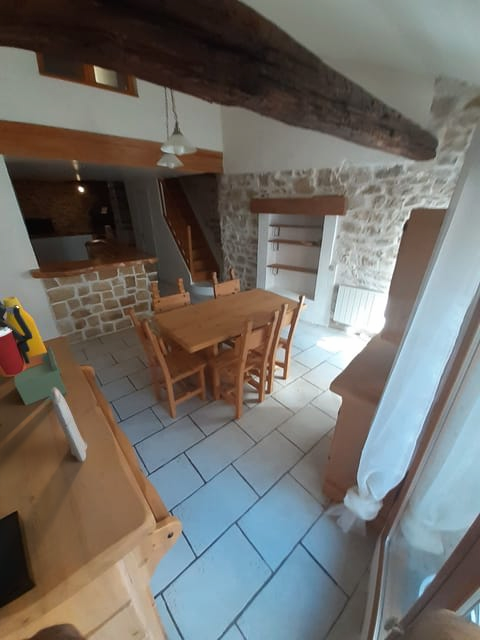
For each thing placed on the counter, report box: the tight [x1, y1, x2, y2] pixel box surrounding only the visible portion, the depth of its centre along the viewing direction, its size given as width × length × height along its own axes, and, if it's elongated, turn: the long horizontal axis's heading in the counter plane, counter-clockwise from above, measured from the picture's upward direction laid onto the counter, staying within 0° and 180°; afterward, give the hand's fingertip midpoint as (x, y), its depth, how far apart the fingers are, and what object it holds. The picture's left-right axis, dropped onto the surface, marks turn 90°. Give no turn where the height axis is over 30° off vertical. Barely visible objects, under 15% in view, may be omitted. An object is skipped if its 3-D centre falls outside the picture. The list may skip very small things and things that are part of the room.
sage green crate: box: [13, 346, 68, 406], centre depth 94 cm, size 12×16×13 cm
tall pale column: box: [51, 387, 88, 463], centre depth 69 cm, size 11×4×22 cm, turn 40°
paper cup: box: [0, 326, 26, 378], centre depth 69 cm, size 8×8×14 cm
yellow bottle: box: [2, 296, 48, 359], centre depth 109 cm, size 9×9×29 cm
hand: (11, 366), depth 72 cm, fingers closed on paper cup, 7 cm apart
